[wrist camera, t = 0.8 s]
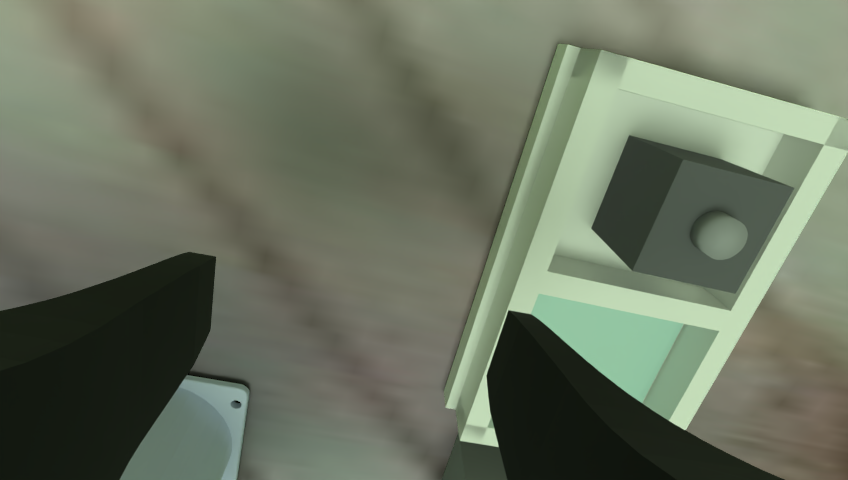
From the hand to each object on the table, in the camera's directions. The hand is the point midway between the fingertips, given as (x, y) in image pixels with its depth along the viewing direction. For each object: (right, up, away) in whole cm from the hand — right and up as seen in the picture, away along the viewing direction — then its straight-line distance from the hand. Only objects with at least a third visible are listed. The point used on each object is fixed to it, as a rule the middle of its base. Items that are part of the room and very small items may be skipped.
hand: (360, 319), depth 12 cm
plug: (+11, +4, +8) cm, 14 cm away
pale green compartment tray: (+10, +1, +11) cm, 15 cm away
